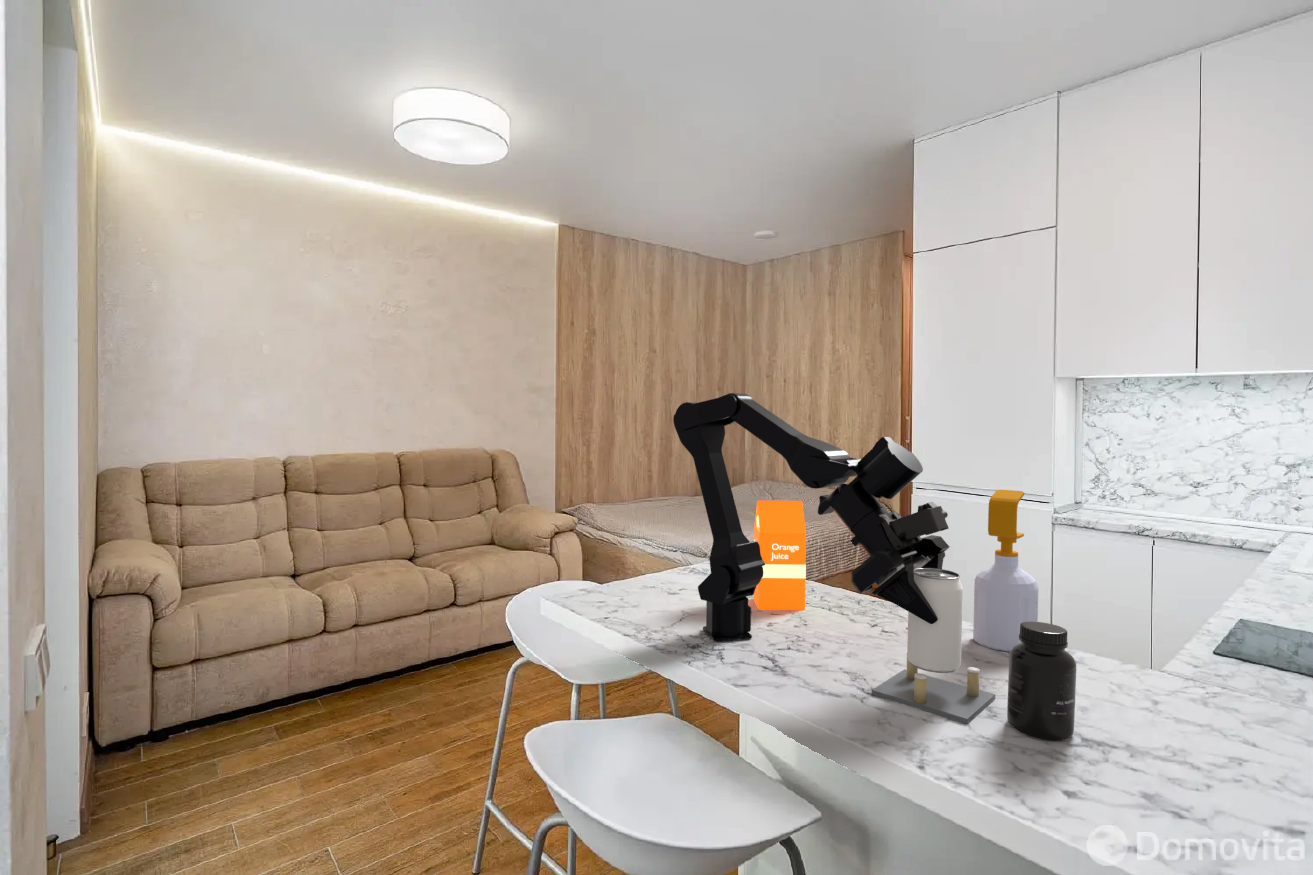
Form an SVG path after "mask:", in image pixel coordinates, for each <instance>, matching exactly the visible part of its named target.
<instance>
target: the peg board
mask: <svg viewBox="0 0 1313 875" xmlns="http://www.w3.org/2000/svg"><path fill="white" fill-rule="evenodd" d="M918 669H919V668H917V667H915V666H913V665H912V664H911V663H910V662H909V660H908V659H907V658H906V669H903V670H901V671H900V672H898V673H896V674H895V675H893V676H892V677H890V678H888V679H887V680H885V681H883V682H882V683H880V684H879V685H877V686H876V687H874V688H872V689H871V695H873V696H876V697H879V698H882V699H887V700H888V701H892V702H895V703H899V704H902V705H905V706H907V707H908V706H909V707H910V708H911V707H912V708H915V709H918V710H921V711H925V712H928V713H931V714H934V715H937V716H941V717H944V718H947V719H950V720H954V721H956V722H960V723H963V724H966V725H968V724H969V723H970V722H971V721H972V720H973V719H974V718H976V717H977V716H978V715H979V714H980V713H981V712H982V711H984V709H986V708H987V707H988V706H989V705H990V704H991V703H993V701H994V700H995V699H996V694H995V693H992V692H989V691H987V690H985V691H984V690H981V689H980V669H979V668H977V667H973V666H968V667H967V668H966V669H967V673H966V676H967V677H966V679H967V680H966V685H963V684H959V683H956V682H951V681H948V680H945V679H940V678H939V677H933V676H931V675H927V674H925V673H920V672H919V670H918Z"/></svg>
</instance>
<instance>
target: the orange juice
mask: <svg viewBox="0 0 1313 875" xmlns="http://www.w3.org/2000/svg"><path fill="white" fill-rule="evenodd" d="M804 513H805V512H804V505H803V500H757V502H756V513H755V517H754V518H755V521H754V525H753V542H754V541H758V543H759V546H760V553H761V557H762V559H763V561H764V563H765V565H764V566H762V567H763V577H762V579H761V581H760V583H759V584H758V585H757V586H756V589H755V592H754V595H752V596H753V601H754V603H755V605H756V607H757V609H758V610H759V611H760V610H761V611H762V610H763V611H765V610H767V611H769V610H770V611H772V610H773V611H782V610H784V611H806V579H807V578H806V577H807V563H806V562H807V560H806V558H807V557H806V556H807V531H806V523H805V522H806V521H805V514H804Z"/></svg>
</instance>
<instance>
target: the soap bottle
mask: <svg viewBox="0 0 1313 875" xmlns="http://www.w3.org/2000/svg"><path fill="white" fill-rule="evenodd" d="M1024 496H1025V492H1024V491H1022V490H1015V489H1014V490H1012V489H997V490H996V491H994V492H993V494H991V496H990V498H989V500H988V514H987V515H988V519H987V523H988V524H987V533H988V534H987V535H989V536H992V537H996V538H997V542H999V543H1000V549H995V550H994V551H995V552H994V563H993V564H992V565H991V566H989V567H986V568H984V569H983V570H981V571H979V572H978V573H977V574H976V576H975V578H974V589H973V592H974V593H973V629H972V630H973V632H972V634H973V635H972V636H973V640H974V641H975V642H976V643H977V644H979V645H981V646H983V647H985V646H986V648H988V647H989V648H988V649H991V648H992V649H991V650H994V651H999V650H1001V651H1000V652H1005V653H1006V652H1007V653H1010V651H1011V649H1012V648H1013V647H1014V646H1016V645H1018V644H1021V641H1020V640H1019V634H1020V624H1021V623H1023V622H1039V621H1038V616H1039V614H1038V613H1039V610H1038V609H1039V585H1038V583H1037V581H1036V579H1035V578H1034V577H1033V576H1032V575H1031V574H1030V573H1028V572H1027V571H1026V570H1023V569H1022V568H1021V567H1020V566H1019V552H1018V551H1016V550H1013V544H1016V543H1017V540H1019V539H1021V538H1023V537H1024V536H1025V534H1024V533H1025V532H1018V531H1017V529H1018V528H1017V527H1018V525H1017V524H1018V523H1017V522H1018V507H1019V506H1018V505H1019V504H1020V502H1021V500H1022V499H1023V497H1024Z"/></svg>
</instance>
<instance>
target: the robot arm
mask: <svg viewBox="0 0 1313 875" xmlns="http://www.w3.org/2000/svg"><path fill="white" fill-rule="evenodd" d="M672 420H673V427H674V428H675V431H676V434H677V436H678V439H679V442H680V443H681V444H682V446H683V447H684V448H685V449H686V451H687V452H688V453H689V454H690V455H691V457H692V460H693V462H694V467H695V471H696V474H697V475H696V476H697V479H698V482H699V487H700V492H701V495H702V499H703V503H704V508H705V511H706V515H707V519H708V523H709V527H710V531H711V535H712V546H711V550H710V555H709V568H710V573H709V574H708V575H707V576H706V577H705V578H704V580H703V581H701V583H699V585H698V586H697V590H698V594H699V599H700V600H702V601H706V609H705V612H706V619H705V620H706V621H705V626H702V630H703V632H704V633H706V635H708V636H709V638H710V639H712V640H713V641H714V642H724V641H734V640H736V641H737V640H738V641H740V640H750V639H752V638H753V635H752V634H751V633H750V632H751V631H752V628H751V626H752V607H751V606H750V605H749V598H748V597H750V596H753V595H754V592H755V589H756V586H757V585H758V584H759V583H760V581H761V579H762V577H763V567H762V566H764V565H765V563H764V561H763V559H762V557H761V553H760V546H759V543H758V541H754V540H753V541H750V540H749V539H748V538H747V536H745V533H744V532H743V530H742V526H741V521H740V518H739V514H738V510H737V507H736V503H735V502H736V501H735V499H734V494H733V490H732V486H731V483H730V479H729V478H730V477H729V475H728V472H727V471H728V470H727V467H726V464H725V460H724V456H723V452H722V448H723V444H724V440H725V436H726V430H725V426H729V425H732V424H734V423H736V424H738V425H739V426H740V427H742V428H744V429H745V430H746V431H747V432H749V433H750V434H752V435H753V436H754V437H756V438H757V439H759V440H760V441H762V442H763V443H764V444H766V445H767V446H768V447H769V448H771V449H772V450H774V451H775V452H777V453H778V454H779V455H780V456H781V457H783V459H784V460H785V461H786V462H787V465H788V466H789V469H790V470H791V472H793V473H794V475H795V476H796V477H797V478H798V479H799V480H800V481H801V482H802V483H803V484H804V486H806V487H808V488H810V489H816V490H819V489H825V488H831V487H836V488H835V489H834V490H833V491H832V492H831V493H830V494H823V495H820V496H819V498H818V499H819V504H818V507H817V514H818V515H819V516H822V515H827V514H832V513H835V514H836V515H837V516H838V518H839V519H840V521H841V522H842V523H843V524H844V526H845V527H846V528H847V529H848V531H849V532H850V534H852V536H853V537H852V538H851V539H850V542H851V544H852V545H853V546H854V547H857V546H861V547H862V548H863V550H864V551H865V552H866V554H867V555H868V558H867V559H865V560H864V561H863V562H862V563H860V565H858V566H857V567H856V568H855V569H854V570H853V571H851V580H850V581H851V582H850V583H851V584H852V585H853V586H854V589H856V591H857V592H858V593H859V594H860V595H862V594H865V593H867V592H870V591H871V590H873V588H874V586H873V585H874V584H877V588H875V589H874V590H873V591H871V594H872V595H873V596H878V597H880V598H882V599H884V600H885V601H888V602H889V603H891V604H894V605H896V606H897V607H899V608H901V609H903V610H905V611H907V613H908V612H910V613H912V614H914V615H915V616H917V617H919V618H921V619H922V620H924V621H926V622H928V623H930V624H933V623H935V622H936V621H937V620H938V618H937V616H936V614H935V613H934V611H933V609H932V607H931V606H930V604H929V603H928V601H927V600H926V598H925V597H924V595H923V594H922V592H921V591H920V589H919V587H918V586H917V584H916V583H915V581H914V570H915V569H920V568H934V569H943V564H944V563H943V562H944V559H945V557H946V551H947V550H949V548H950V545H949V544H948V543H947V542H946V541H945V540H944V538H943V537H942V536H940V535H933V534H935V533H939V532H942V531H945V530H949V525H948V523H947V520H946V519H947V517H948V516H949V515H948V512H947V511H945V510H944V509H943V508H942V506H941V505H937V504H936V503H935V502H933V501H930V502H926V503H924V504H920V505H918V506H917V511H916V512H913V513H911V514H908V515H905V516H901V514H900V513H898V512H897V511H891V512H889V511H888V510H887V509H886V508H885V507H884V505H883V504H882V503H881V502H880V500H879V499H882V498H884V499H886V500H892V499H893V498H894V497H896V496H897V495H898V494H899V493H900V492H902V490H904V489H905V488H906V487H907V486H908V485H910V483H912V482H913V480H915V479H916V478H917V477H918V476H919V475H920V474H922V472H923V470H924V468H923V465H922V463H921V462H920V460H919V459H918V458H917V456H916V455H915V454H914V453H913V452H912V451H909V450H908V449H906V448H905V447H904V446H903V445H901V444H899V443H897V442H895V441H894V440H893V439H892V438H891V436H882V437H880V438H879V439H878V440H877V441H876V442H875V444H874V446H873V447H872V448H871V449H870V450H869V451H868V452H867V453H866V454H865V455H864V456H863V457H862V458H855V457H851V456H850V455H849V453H848V452H846V451H845V450H844V449H842V448H840V447H837V446H835V445H833V444H831V443H828V442H826V441H823V440H820V439H817V438H813V437H810V436H808V435H805V434H804V433H802V432H800V430H798V429H796V428H795V427H794V426H792V425H790V424H789V423H788V422H786V421H784V420H783V419H782V418H780V417H779V416H777V415H776V414H775V413H773V412H771V411H770V410H768V409H767V408H765V407H764V406H763V405H761V404H760V403H759V402H757V401H755V400H754V398H753V397H752V396H750V395H749V394H747V393H736V392H735V393H734V392H728V393H727V394H724V395H722V396H719V397H717V398H713V399H708V400H704V401H700V402H699V401H698V402H694V401H693V402H690V401H689V402H688V401H687V402H684V403H683V402H682V404H680V405H679V406H678V407H677V409H676V411H675V413H674V414H673V418H672ZM851 477H854V479H852V480H851V482H849V483H846V482H847V481H848V480H849V479H850V478H851ZM921 536H924V537H921Z"/></svg>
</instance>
